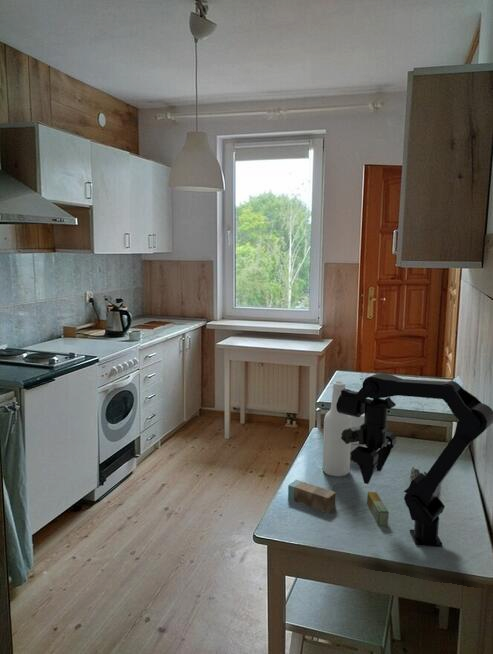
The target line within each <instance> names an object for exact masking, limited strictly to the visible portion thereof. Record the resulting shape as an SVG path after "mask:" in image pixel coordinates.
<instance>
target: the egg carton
mask: <svg viewBox="0 0 493 654" xmlns="http://www.w3.org/2000/svg"><path fill="white" fill-rule="evenodd" d="M420 473H422V474H423V475H424V476H426V474H427V473H428V472H426V471H425V470H424V471H423V472H420V469H418V468H414V466H412V467H411V470H410V475H409V484H410V483H411V482H412V480H413V479H414V478H415V477H417V476H418V475H419V474H420Z"/></svg>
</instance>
